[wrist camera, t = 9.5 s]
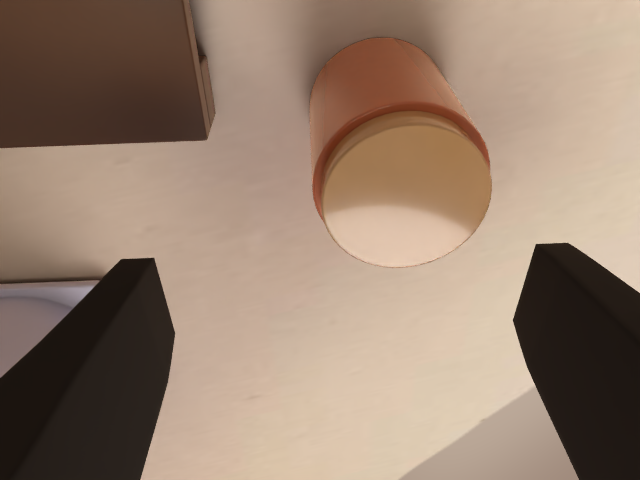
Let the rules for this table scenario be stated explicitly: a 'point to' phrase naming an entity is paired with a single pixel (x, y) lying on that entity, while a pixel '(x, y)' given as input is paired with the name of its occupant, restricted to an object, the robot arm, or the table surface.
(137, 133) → the stand
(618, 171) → the table surface
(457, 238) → the spice jar
